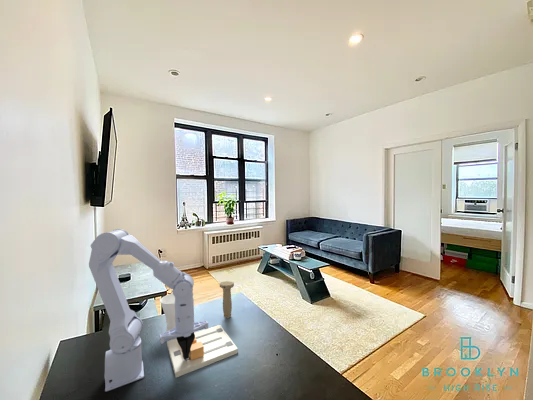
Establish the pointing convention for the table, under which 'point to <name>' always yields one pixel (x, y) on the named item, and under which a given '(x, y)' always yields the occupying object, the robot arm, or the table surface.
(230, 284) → the handle
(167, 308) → the cup
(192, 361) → the switch board
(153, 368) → the table surface
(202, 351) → the orange block
